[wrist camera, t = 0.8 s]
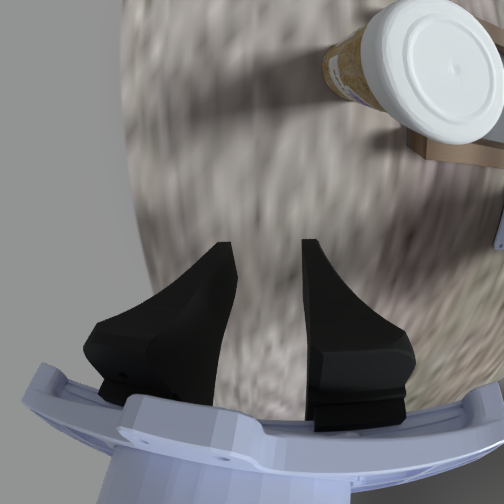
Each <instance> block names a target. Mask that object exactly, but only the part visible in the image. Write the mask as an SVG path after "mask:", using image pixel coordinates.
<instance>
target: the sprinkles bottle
mask: <svg viewBox="0 0 504 504" xmlns="http://www.w3.org/2000/svg"><path fill="white" fill-rule="evenodd" d="M322 70H323V77H324V79H325V81H326V83H327V85H328V86H329V87H330V88H331V90H332V91H333V92H335V94H337V95H338V96H340V97H342V98H344V99H347V100H350V101H355V102H357V103H360V104H363V105H366V106H368V107H371V108H374V109H376V110H379V111H382V112H386V113H388V114H389V115H391V116H392V117H393V118H394V119H395V120H397V121H398V122H399V123H401V124H403V125H404V126H406V127H408V128H410V129H412V130H414V131H415V132H417V133H419V134H421V135H423V136H425V137H427V138H429V139H432V140H434V141H437V142H441V143H445V144H451V145H462V144H467V143H471V142H473V141H476V140H478V139H480V138H482V137H483V136H484V135H486V134H487V133H488V132H489V131H490V130H491V129H492V128H493V126H494V125H495V124H496V122H497V121H498V119H499V117H500V115H501V113H502V110H503V106H504V68H503V64H502V60H501V58H500V55H499V53H498V50H497V48H496V46H495V44H494V42H493V41H492V39H491V37H490V36H489V34H488V33H487V31H486V30H485V29H484V28H483V26H482V25H481V24H480V23H479V22H478V21H477V20H476V19H475V18H474V17H473V16H472V15H471V14H470V13H468V12H467V11H466V10H464V9H463V8H461V7H460V6H458V5H456V4H455V3H453V2H450V1H448V0H398V1H396V2H394V3H392V4H390V5H389V6H387V7H385V8H384V9H382V10H381V11H380V12H378V13H377V14H376V15H375V16H374V17H373V18H372V19H371V20H370V22H369V23H368V24H367V25H364V26H362V27H360V28H359V29H357V30H356V31H354V32H353V33H351V34H350V35H349V36H347V37H346V38H344V39H343V40H342V41H341V42H339V43H338V44H337V45H335V46H334V47H332V48H330V49H329V51H328V52H327V53H326V55H325V56H324V58H323V63H322Z"/></svg>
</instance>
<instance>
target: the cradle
mask: <svg viewBox="0 0 504 504" xmlns="http://www.w3.org/2000/svg"><path fill="white" fill-rule="evenodd" d="M473 17H474V16H473ZM474 18H475V19H476V20H477V21H478V22H479V23H480V24H481V25H482V26H483V28H484V29H485V30H486V31H487V33H488V34H489V36H490V37H491V39H492V41H493V42H494V44H495V46H496V48H497V50H498V53H499V55H500V58H501V60H502V64H503V68H504V30H503V29H501V28H499V27H497V26H495V25H493V24H490V23H488V22H486V21H483V20H481V19H479V18H476V17H474ZM407 146H408V147H409V148H410V149H412V150H413V151H415V152H416V153H417V154H419V155H420V156H421V157H423V158H424V159H425V160H435V161H446V162H456V163H465V164H473V165H480V166H487V167H494V168H500V169H504V106H503V110H502V113H501V115H500V117H499V119H498V121H497V122H496V124H495V125H494V126H493V128H492V129H491V130H490V131H489V132H488V133H487V134H486V135H484V136H483V137H482V138H480V139H478V140H476V141H473V142H471V143H467V144H462V145H451V144H445V143H441V142H437V141H434V140H432V139H429V138H427V137H425V136H423V135H421V134H419V133H417V132H415V131H414V130H412V129H410V128H408V127H407Z"/></svg>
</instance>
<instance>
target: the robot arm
mask: <svg viewBox="0 0 504 504" xmlns="http://www.w3.org/2000/svg"><path fill="white" fill-rule="evenodd" d="M493 247H494V248H495V250H504V210H503V214H502V218H501V221H500V225H499V228H498V232H497V235H496V238H495V241H494V245H493ZM302 276H303V302H304V312H305V321H306V331H307V387H306V410H305V421H283V420H260V419H255V418H254V417H253V416H250V415H248V414H245V413H242V412H240V411H236V410H231V409H226V408H221V407H213V397H214V389H215V381H216V374H217V367H218V360H219V355H220V349H221V344H222V340H223V336H224V332H225V329H226V326H227V322H228V319H229V316H230V312H231V309H232V306H233V302H234V299H235V294H236V288H237V281H238V276H237V271H236V266H235V261H234V256H233V251H232V246H231V242H217V243H216V244H215V245H214V246H213V247H212V248H211V249H210V250H209V251H208V252H206V253H205V254H204V255H203V256H202V257H201V258H200V259H199V260H198V261H197V262H196V263H195V264H194V265H193V266H192V267H191V268H189V269H188V270H187V271H186V272H185V273H184V274H183V275H181V276H180V277H179V278H178V279H177V280H175V281H174V282H173V283H172V284H170V285H169V286H168V287H166V288H165V289H163V290H162V291H161V292H159V293H158V294H156V295H154V296H153V297H151V298H150V299H148V300H146V301H144V302H143V303H141V304H139V305H138V306H136V307H134V308H132V309H130V310H128V311H126V312H124V313H121V314H119V315H117V316H114V317H112V318H109V319H106V320H104V321H101V322H98V323H97V324H96V326H95V327H94V329H93V331H92V332H91V334H90V336H89V337H88V339H87V341H86V342H85V344H84V346H83V351H84V354H85V356H86V358H87V359H88V361H89V362H90V363H91V364H92V366H93V367H94V368H95V369H96V370H97V371H98V372H99V373H100V375H101V376H102V377H103V378H104V381H103V383H102V385H101V387H100V389H99V390H98V389H95V388H92V387H89V386H86V385H83V384H81V383H78V382H75V381H72V380H70V379H67V377H66V376H65V375H64V374H63V372H61V371H60V370H59V369H58V368H56V367H53V366H51V365H48V364H46V363H41V365H40V366H39V368H38V370H37V372H36V373H35V375H34V377H33V379H32V381H31V382H30V384H29V386H28V388H27V390H26V392H25V394H24V396H23V398H22V400H21V401H22V403H23V404H24V405H25V406H26V407H28V408H29V409H30V410H31V411H33V412H34V413H35V414H36V415H38V416H39V417H40V418H42V419H43V420H44V421H46V422H47V423H48V424H50V425H51V426H53V427H54V428H56V429H58V430H59V431H61V432H63V433H65V434H67V435H69V436H70V437H72V438H74V439H76V440H78V441H80V442H82V443H84V444H86V445H88V446H90V447H92V448H94V449H96V450H98V451H100V452H102V453H105V454H107V455H109V456H111V457H112V458H111V461H110V464H109V467H108V470H107V473H106V476H105V479H104V482H103V485H102V488H101V491H100V494H99V497H98V501H97V504H350V493H352V492H360V491H367V490H373V489H378V488H383V487H389V486H394V485H398V484H402V483H407V482H410V481H414V480H418V479H422V478H425V477H429V476H432V475H435V474H438V473H441V472H445V471H447V470H451V469H453V468H456V467H459V466H462V465H465V464H467V463H470V462H472V461H475V460H477V459H479V458H481V457H482V456H484V455H486V454H487V453H489V452H491V451H492V450H494V449H496V448H497V447H499V446H500V445H502V444H503V443H504V402H503V398H502V395H501V391H500V388H499V385H498V382H493V383H490V384H486V385H483V386H480V387H477V388H475V389H473V390H471V391H470V392H468V393H467V394H466V395H465V397H464V398H463V399H462V400H460V401H457V402H453V403H449V404H445V405H440V406H436V407H431V408H427V409H422V410H416V411H411V412H406V409H405V403H404V398H405V396H406V389H405V384H406V382H407V380H408V379H409V377H410V375H411V374H412V372H413V370H414V368H415V365H416V359H415V354H414V351H413V348H412V345H411V343H410V341H409V338H408V336H407V334H406V332H405V331H404V330H402V329H400V328H399V327H397V326H395V325H394V324H392V323H390V322H389V321H387V320H386V319H384V318H383V317H381V316H380V315H379V314H377V313H376V312H374V311H373V310H372V309H371V308H370V307H369V306H367V305H366V304H365V303H364V302H363V301H361V300H360V299H359V298H358V297H357V296H356V295H355V294H354V293H353V292H352V290H351V289H350V288H349V287H348V286H347V285H346V284H345V283H344V281H343V280H342V279H341V278H340V276H339V275H338V274H337V272H336V271H335V270H334V268H333V267H332V265H331V264H330V262H329V261H328V259H327V257H326V256H325V254H324V252H323V250H322V249H321V247H320V244H319V242H318V240H316V239H302Z"/></svg>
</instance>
